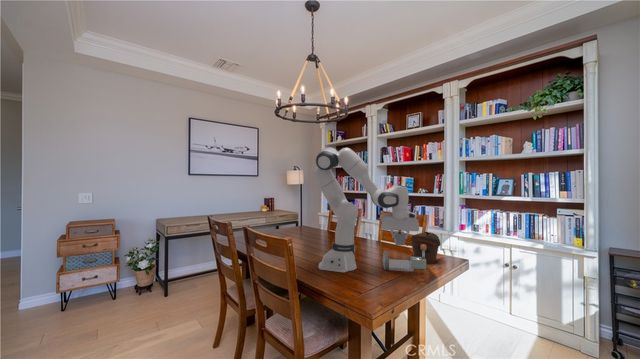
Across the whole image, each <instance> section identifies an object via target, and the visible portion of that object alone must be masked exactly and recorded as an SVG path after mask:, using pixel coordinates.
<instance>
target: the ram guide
mask: <svg viewBox="0 0 640 359" xmlns="http://www.w3.org/2000/svg"><path fill="white" fill-rule="evenodd" d="M413 258H422V257H414V256H410V259H409V261H410V263H411V265H412V267H413V269H414V270H427V263H426V260H425V259H413Z"/></svg>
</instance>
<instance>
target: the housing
mask: <svg viewBox="0 0 640 359" xmlns="http://www.w3.org/2000/svg"><path fill="white" fill-rule="evenodd" d="M394 235H395V238H393V239H394V241H393V242H394V245H395V246H406V239H405V235H406V233H405V231H398V230H394Z"/></svg>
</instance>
